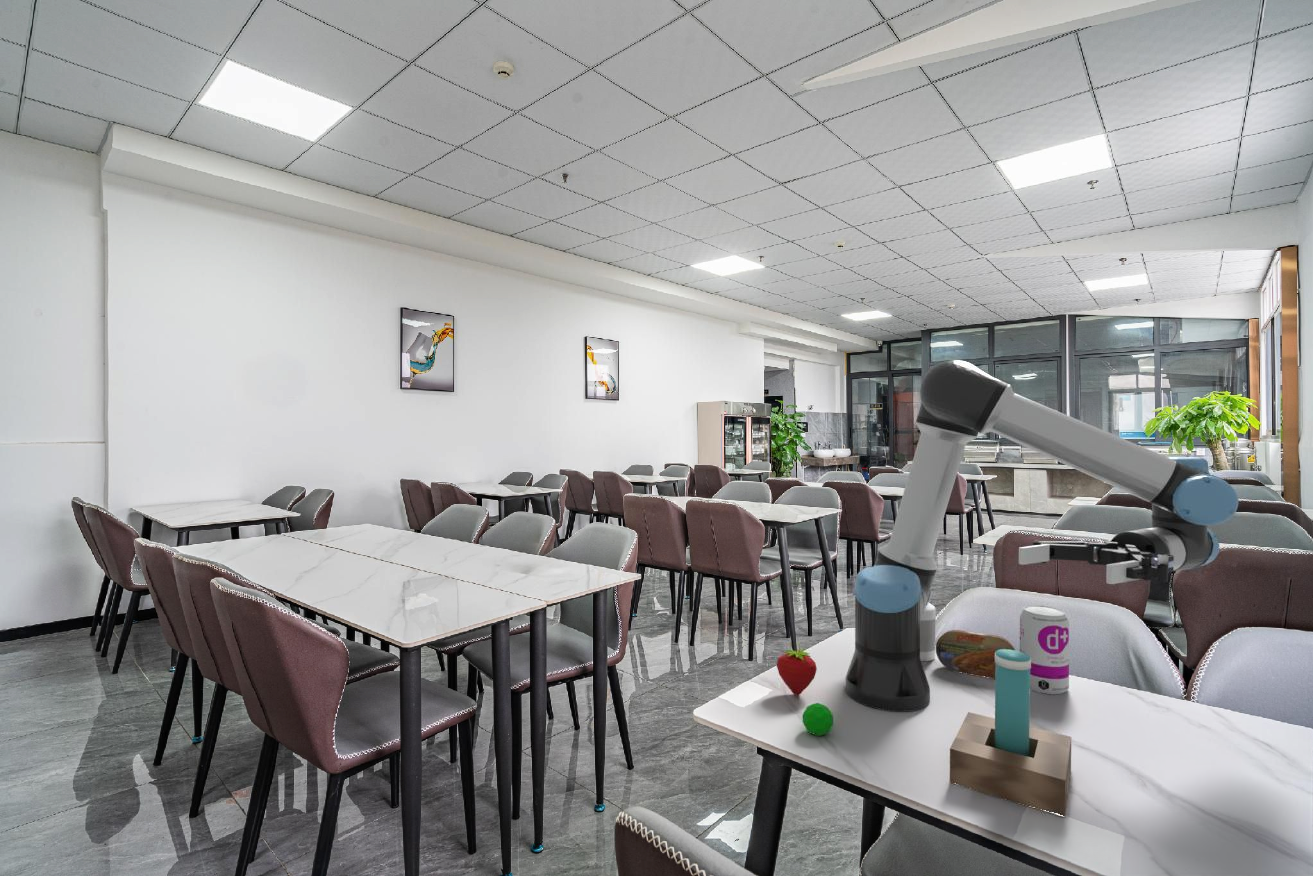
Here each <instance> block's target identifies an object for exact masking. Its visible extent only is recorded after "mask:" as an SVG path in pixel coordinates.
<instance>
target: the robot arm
mask: <svg viewBox="0 0 1313 876" xmlns="http://www.w3.org/2000/svg"><path fill="white" fill-rule="evenodd" d="M919 388H920V390H919V394H920V395H919V396H920V401H921V402H920V406H919V409H918V414H917V416H916V421H915V425H916V427H917V428H918V430H919V431H920V432H919V433H920V435H919V438H918V441H917V446H916V449H915V453H914V456H913V459H912V463H911V467H910V469H909V473H908V475H907V479H906V483H905V487H904V490H903V494H902V498H901V501H900V503H899V507H898V511H897V513H896V514H897V515H896V517H895V521H894V525H893V528H892V530H891V531H892V532H891V535H890V539H889V541H888V542H887V543H886V544H884V545H882V546H880V547H879V549H878V552H877V555H876V559H875V563H874V565H873V566H867V567H864V568H863V569H862V570H860V571H859V572H858V573H856V577H855V584H854V588H853V591H854V598H855V599H854V613H855V615H854V634H855V635H854V652H853V654H852V658H851V660H850V664H849V667H848V669H847V671H846V675H845V692H846V694H847V695H848V696H849V697H850V698H852V699H853V700H854V701H855V702H857V703H860V704H862V705H865V706H867V707H870V708H874V709H879V710H884V711H892V712H910V711H916V710H921V709H923V708H925V707H928V705H929V703H930V702H931V689H930V684H929V682H928V678H927V675H926V672H925V670H924V666H923V663H922V662H923V661H921V659H920V619H921V615H922V613H923V610H924V608H925V606H926V605H927V603H928V601H930V598H931V595H932V590H931V589H932V586H933V583H934V579H935V577H936V572H937V569H938V564H937V563H936V561H935V559H934V558H933V554H934V551H935V549H936V548H935V547H936V543H937V540H938V538H939V536H940V535H939V534H940V531H941V528H942V525H943V521H944V518H945V514H946V511H947V509H948V504H949V502H950V498H951V494H952V492H953V488H954V485H955V482H956V478H957V475H958V473H959V472H958V471H959V468H960V466H961V463H962V459H963V455H964V452H965V449H966V445H967V444H968V443H970V442H972V441H973V440H975V439H977V438H978V434H979V433H980V434H987V433H994V434H996V435H998V436H1001V437H1003V438H1004V439H1007V440H1009V441H1012V442H1013V443H1016V444H1018V445H1020V446H1023V447H1025V448H1027V449H1029V450H1031V451H1033V452H1036V453H1038V454H1040V455H1043V456H1046V457H1047V458H1049V459H1052V460H1054V461H1057V462H1059V463H1061V464H1063V465H1064V466H1067V467H1070V468H1072V469H1074V470H1076V471H1078V472H1081V473H1083V474H1085V475H1087V476H1090V477H1092V478H1094V479H1096V480H1099V481H1100V482H1102V483H1105V484H1108V485H1110V486H1112V487H1114V488H1117V489H1119V490H1121V491H1123V492H1125V493H1128V494H1129V495H1132V496H1134V497H1136V498H1139V499H1141V500H1143V501H1146V502H1148V503H1150V504H1151V527H1149V528H1140V529H1133V530H1126V531H1122V532H1119V533H1117V534H1116V535H1114V536H1113V538H1112V539H1111V540H1110V541H1105V542H1091V541H1090V540H1088V539H1085V540H1071V541H1070V540H1068V541H1066V540H1065V541H1064V540H1061V541H1059V540H1046V541H1045V540H1034V541H1032V545H1028V546H1027V545H1026V546H1022V547H1021V546H1019V547H1018V564H1019V565H1022V566H1023V565H1025V566H1026V565H1031V564H1039V563H1041V564H1046V562H1050V560H1058V561H1059V560H1060V561H1061V560H1062V561H1077V562H1079V561H1080V562H1081V561H1082V562H1087V563H1088V564H1090V565H1098V566H1099V565H1101V566H1106V574H1105V575H1106V577H1105V578H1106V579H1105V580H1106V581H1105V583H1106V584H1109V585H1116V584H1117V585H1118V584H1121V583H1128V582H1134V581H1138V580H1140V579H1142V580H1143V581H1151V580H1152V578H1154V579H1155V578H1156V581H1157V582H1160V583H1162V584H1166V583H1168V582H1169V581H1168V580H1169V574H1170V573H1173V572H1177V571H1183V570H1194V569H1195V570H1196V569H1197V568H1199V567H1203V566H1205V565H1208V564H1209V563H1212V562H1213V561H1214V560H1215V559H1216V558H1217V556H1218V554H1219V551H1220V543H1219V540H1218V538H1217V536H1216V535H1215V533H1214V532H1213V531H1212V530H1210V528H1209V527H1208V526H1216V525H1219V524H1223V523H1225V522H1227V521H1229V520H1230V519H1231V518H1232V517H1233V516H1234V515H1235V514H1236V512H1237V510H1238V507H1239V497H1238V493H1237V491H1236V490H1235V488H1234V487H1233V486H1232V485H1231V484H1229V483H1228V482H1227V481H1226V480H1225V479H1222V478H1221V477H1218V476H1216V475H1213V474H1211V473H1210V472H1209V471H1210V469H1209V462H1208V460H1207V459H1205V458H1203V457H1193V456H1165V455H1163V454H1160V453H1158V452H1156V451H1153V450H1150V449H1148V448H1146V447H1143V446H1141V445H1140V444H1136V443H1135V442H1132V441H1130V440H1127V439H1124V438H1122V437H1120V436H1119V435H1118V436H1117V435H1115V434H1112V433H1110V432H1108V431H1106V430H1103V429H1101V428H1098V427H1096V426H1094V425H1091V424H1088V423H1087V422H1084V421H1081V420H1080V419H1077V418H1074V417H1072V416H1071V415H1068V414H1065V413H1063V412H1060V411H1058V410H1055V409H1054V408H1050V407H1049V406H1046V405H1044V404H1041V403H1039V402H1036V401H1034V400H1032V399H1030V398H1027V397H1024V396H1022V395H1020V394H1018V393H1015V392H1014V390H1013V388H1012V385H1011V384H1009V383H1007V382H1004V381H1002V380H1000V379H998V378H996V377H994V376H992V375H990V374H989V373H987V372H985V371H983V370H981V369H980V368H979V367H977V366H976V365H975V364H973V363H970V362H967V361H966V360H959V359H951V360H945V361H943V362H939V363H938V364H936V365H934V366H933V367H932V368H930V369H929V370H928V371H927V373H926V374H925V375H924V377H923V378H922V380H921V383H920V387H919ZM1094 554H1095V557H1096V558H1097V559H1094Z"/></svg>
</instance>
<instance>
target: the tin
mask: <svg viewBox="0 0 1313 876" xmlns="http://www.w3.org/2000/svg"><path fill="white" fill-rule="evenodd" d="M1001 649H1009V650H1016V648H1015V647H1014V645H1013V644H1012V642H1010V641H1009V640H1008V639H1006V638H1004V637H1003V636H999V635H995V634H988V633H981V632H973V631H968V630H967V631H966V630H960V629H959V630H958V629H952V630H948V631H946V632H944V633H943V634H941V636H940V637H938V639H937V641H936V642H935V655H936V657H937V658H938V661H939V662H940V663H941V664H942V666H944V667H945V668H946V669H948V670H950V671H951V672H954V671H955V673H959V672H962V673H961V674H964V673H967V674H966V675H970V674H973V675H972V676H976V675H978V677H982V676H985V677H984V678H987V677H988V678H989V679H993V678H994V680H995V669H996V663H995V652H996V651H997V650H1001Z"/></svg>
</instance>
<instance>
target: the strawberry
mask: <svg viewBox="0 0 1313 876" xmlns="http://www.w3.org/2000/svg"><path fill="white" fill-rule="evenodd" d="M782 653H784V654H782V655H780V656H779V657H778V658H777V661H776V662H777V663H776V669H777V671H778V675H779V676H780V678H781V680H782V681H783V682H784V684H785V685H786V687H787V688H788V689H789V690H790V691H791V693H792V694H793V695H795V694H797V695H796V696H799V694H800V695H801V694H802V693H803V692H804V691H805V690H806V689H807V688H808V687H809V686H810V684H811V683H812V681H814V679H815V676H816V673H817V671H818V669H817V664H816V662H815V660H814V659H813V658H812V656H811V655H810V653H809V652H806V651H804V648H800V641H798V649H797V651H796V650H791V649H786V651H782Z"/></svg>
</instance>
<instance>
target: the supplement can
mask: <svg viewBox="0 0 1313 876" xmlns="http://www.w3.org/2000/svg"><path fill="white" fill-rule="evenodd" d="M1019 614H1020V615H1019V651H1020V652H1023V653H1026V654H1028V655H1029V656H1030V658H1031V668H1030V690H1031V689H1032V691H1034V690H1035V691H1034V692H1037V691H1038V693H1041V692H1042V693H1041V694H1049V695H1061V694H1063V693H1065V692H1066V691H1068V690H1069V689H1070V620H1069V618H1068V616H1067V614H1066V612H1065V611H1064V610H1062V609H1059V608H1057V607H1053V606H1046V605H1038V604H1037V605H1034V604H1033V605H1026V606H1023V609H1022V611H1021V613H1019Z"/></svg>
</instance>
